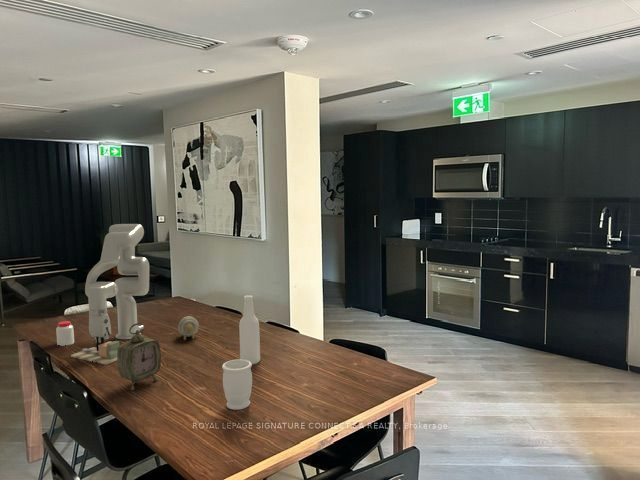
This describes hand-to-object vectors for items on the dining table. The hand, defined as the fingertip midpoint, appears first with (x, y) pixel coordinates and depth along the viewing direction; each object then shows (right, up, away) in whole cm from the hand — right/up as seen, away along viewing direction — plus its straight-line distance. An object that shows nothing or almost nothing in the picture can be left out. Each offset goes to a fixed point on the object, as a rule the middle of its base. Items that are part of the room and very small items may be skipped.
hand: (100, 350), depth 218 cm
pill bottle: (-28, -2, +21) cm, 35 cm away
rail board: (-1, -3, +1) cm, 3 cm away
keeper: (+4, -2, -2) cm, 5 cm away
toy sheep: (+33, 0, +29) cm, 44 cm away
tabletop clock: (+30, -6, -32) cm, 44 cm away
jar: (+73, -8, -51) cm, 90 cm away
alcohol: (+71, -3, -9) cm, 72 cm away
